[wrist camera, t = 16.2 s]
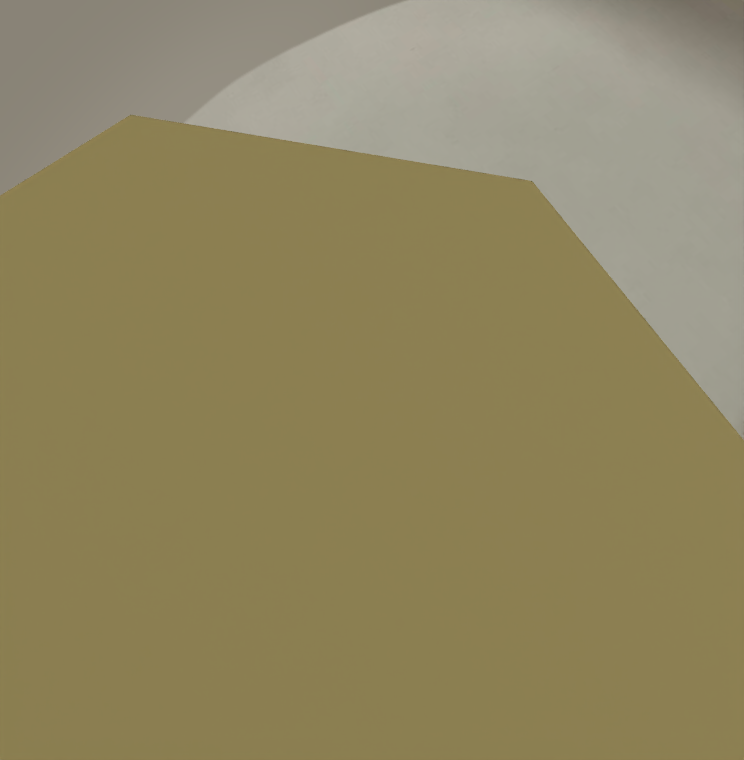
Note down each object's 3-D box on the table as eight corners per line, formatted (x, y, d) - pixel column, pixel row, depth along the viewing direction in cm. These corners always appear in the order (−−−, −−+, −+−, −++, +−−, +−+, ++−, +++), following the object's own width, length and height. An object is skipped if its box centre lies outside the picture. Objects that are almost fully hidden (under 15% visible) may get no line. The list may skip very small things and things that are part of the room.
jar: (118, 409, 19) (-551, 210, 4) (393, 338, 20) (634, -7, 5) (188, 703, 18) (-361, 1819, 3) (472, 608, 19) (1024, 1079, 4)
